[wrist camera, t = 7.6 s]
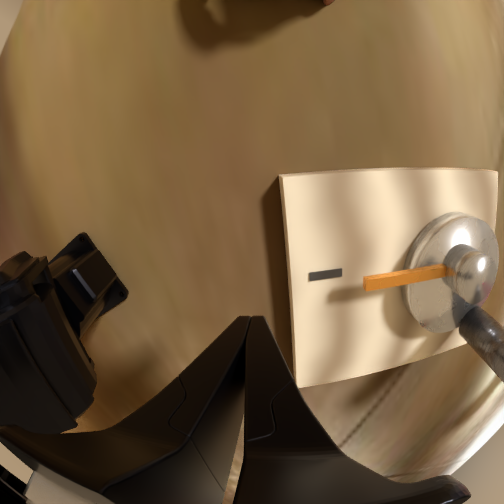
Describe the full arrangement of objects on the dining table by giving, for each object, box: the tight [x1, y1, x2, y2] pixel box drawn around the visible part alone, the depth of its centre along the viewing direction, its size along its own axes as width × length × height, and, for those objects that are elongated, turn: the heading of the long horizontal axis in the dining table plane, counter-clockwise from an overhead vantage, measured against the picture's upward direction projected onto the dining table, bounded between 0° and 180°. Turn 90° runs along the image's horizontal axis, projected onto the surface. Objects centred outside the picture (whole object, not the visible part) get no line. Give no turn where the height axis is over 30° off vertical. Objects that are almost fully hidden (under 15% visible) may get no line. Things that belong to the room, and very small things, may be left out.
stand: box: [279, 168, 498, 388], centre depth 22 cm, size 20×18×2 cm
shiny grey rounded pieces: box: [363, 212, 504, 382], centre depth 16 cm, size 13×13×11 cm
